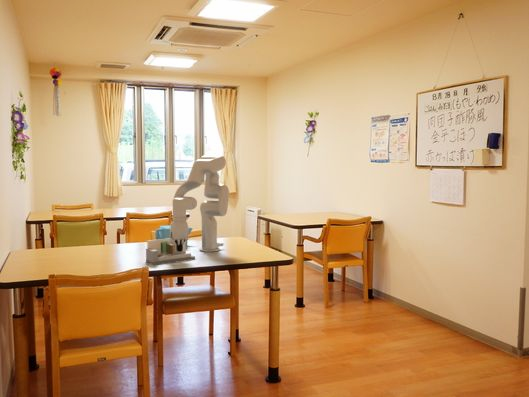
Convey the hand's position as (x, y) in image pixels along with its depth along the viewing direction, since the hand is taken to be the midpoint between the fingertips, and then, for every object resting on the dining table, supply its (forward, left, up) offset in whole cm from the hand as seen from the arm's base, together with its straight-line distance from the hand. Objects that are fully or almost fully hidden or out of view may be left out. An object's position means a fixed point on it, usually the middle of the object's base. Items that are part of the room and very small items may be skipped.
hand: (179, 251), depth 288 cm
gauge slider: (+8, -1, -3) cm, 9 cm away
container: (-19, -43, -5) cm, 47 cm away
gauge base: (+5, -1, -5) cm, 7 cm away
